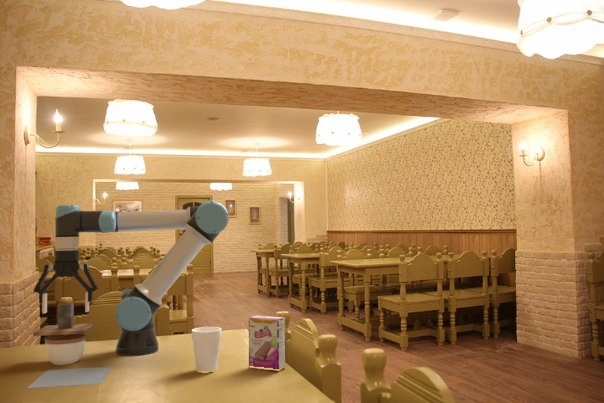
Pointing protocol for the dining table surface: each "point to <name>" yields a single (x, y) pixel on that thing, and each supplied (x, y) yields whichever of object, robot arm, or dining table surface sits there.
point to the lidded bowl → (64, 348)
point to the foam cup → (206, 347)
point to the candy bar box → (267, 342)
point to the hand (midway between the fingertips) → (65, 312)
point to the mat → (71, 377)
